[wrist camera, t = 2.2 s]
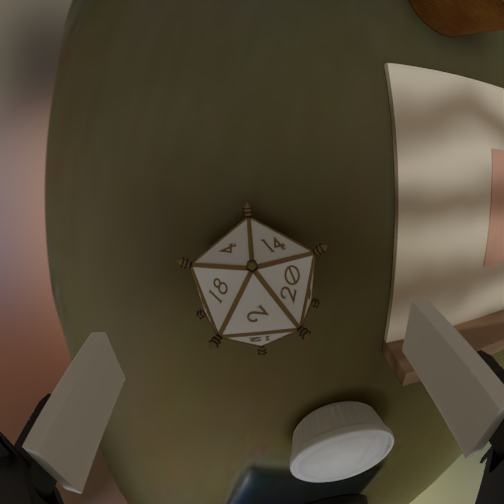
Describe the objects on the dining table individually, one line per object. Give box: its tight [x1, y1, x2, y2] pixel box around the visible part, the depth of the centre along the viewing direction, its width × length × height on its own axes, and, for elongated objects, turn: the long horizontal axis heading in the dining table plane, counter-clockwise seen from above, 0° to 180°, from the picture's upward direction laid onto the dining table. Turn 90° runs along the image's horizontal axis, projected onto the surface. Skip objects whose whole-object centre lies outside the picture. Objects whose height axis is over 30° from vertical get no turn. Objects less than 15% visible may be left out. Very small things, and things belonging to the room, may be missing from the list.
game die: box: [176, 202, 328, 358], centre depth 18 cm, size 9×8×10 cm
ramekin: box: [289, 401, 394, 482], centre depth 26 cm, size 11×11×5 cm
